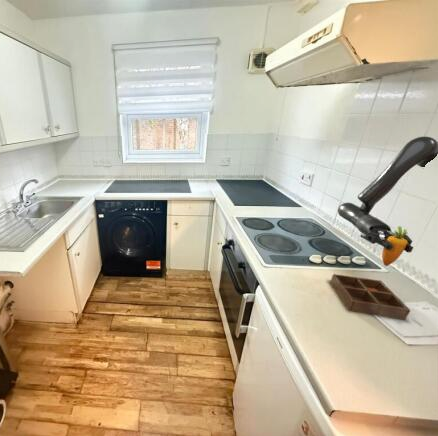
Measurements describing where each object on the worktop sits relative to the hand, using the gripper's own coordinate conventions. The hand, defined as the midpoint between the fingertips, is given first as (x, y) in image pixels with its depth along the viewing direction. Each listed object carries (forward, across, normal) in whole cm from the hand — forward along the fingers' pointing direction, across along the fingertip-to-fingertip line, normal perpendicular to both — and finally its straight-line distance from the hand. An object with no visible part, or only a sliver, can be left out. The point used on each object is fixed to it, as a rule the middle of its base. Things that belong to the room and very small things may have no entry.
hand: (400, 248), depth 79 cm
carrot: (-3, 0, +9) cm, 9 cm away
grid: (+4, -6, +20) cm, 21 cm away
